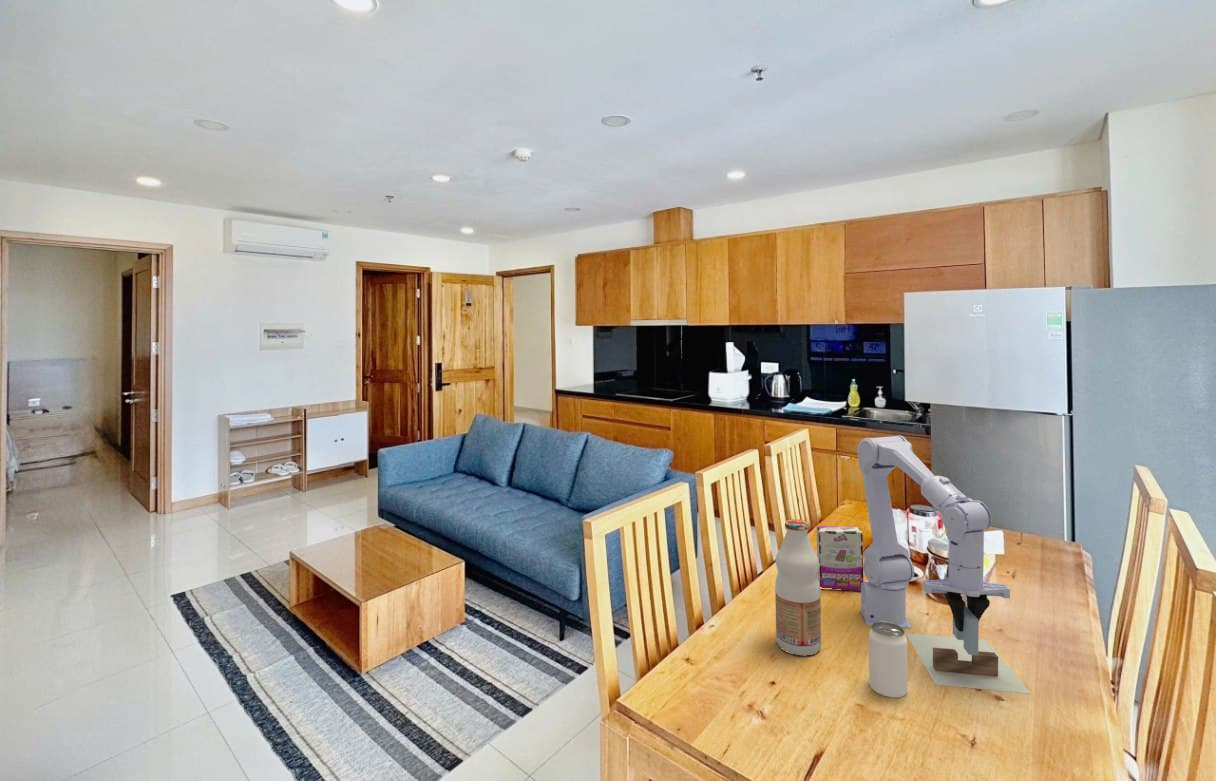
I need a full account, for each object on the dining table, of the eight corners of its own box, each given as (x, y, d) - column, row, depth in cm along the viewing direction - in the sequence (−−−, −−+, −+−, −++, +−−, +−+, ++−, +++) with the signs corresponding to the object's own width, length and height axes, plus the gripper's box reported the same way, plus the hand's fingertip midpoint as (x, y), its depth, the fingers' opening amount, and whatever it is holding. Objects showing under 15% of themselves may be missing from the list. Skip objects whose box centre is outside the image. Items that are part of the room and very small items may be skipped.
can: (905, 703, 100) (906, 641, 99) (867, 693, 103) (866, 632, 102) (908, 684, 105) (908, 625, 104) (871, 675, 109) (870, 617, 108)
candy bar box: (859, 584, 149) (859, 526, 148) (864, 592, 144) (863, 532, 143) (816, 582, 152) (816, 524, 151) (819, 590, 147) (818, 530, 146)
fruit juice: (777, 655, 117) (775, 528, 115) (775, 632, 126) (773, 514, 124) (824, 659, 115) (822, 530, 113) (818, 636, 124) (816, 516, 122)
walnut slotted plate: (935, 671, 109) (935, 651, 108) (932, 666, 110) (932, 647, 110) (998, 676, 106) (998, 657, 106) (994, 671, 108) (994, 652, 107)
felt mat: (935, 685, 105) (935, 684, 105) (905, 634, 123) (905, 633, 123) (1031, 695, 101) (1031, 693, 101) (985, 641, 119) (985, 639, 119)
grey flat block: (968, 654, 104) (969, 619, 104) (952, 633, 112) (952, 600, 111) (978, 655, 104) (978, 620, 103) (961, 634, 111) (961, 601, 111)
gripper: (931, 568, 104) (931, 636, 105) (1018, 573, 101) (1017, 643, 102) (919, 555, 111) (919, 619, 112) (1000, 558, 108) (999, 624, 109)
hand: (965, 629), depth 108 cm, fingers closed on grey flat block, 2 cm apart
